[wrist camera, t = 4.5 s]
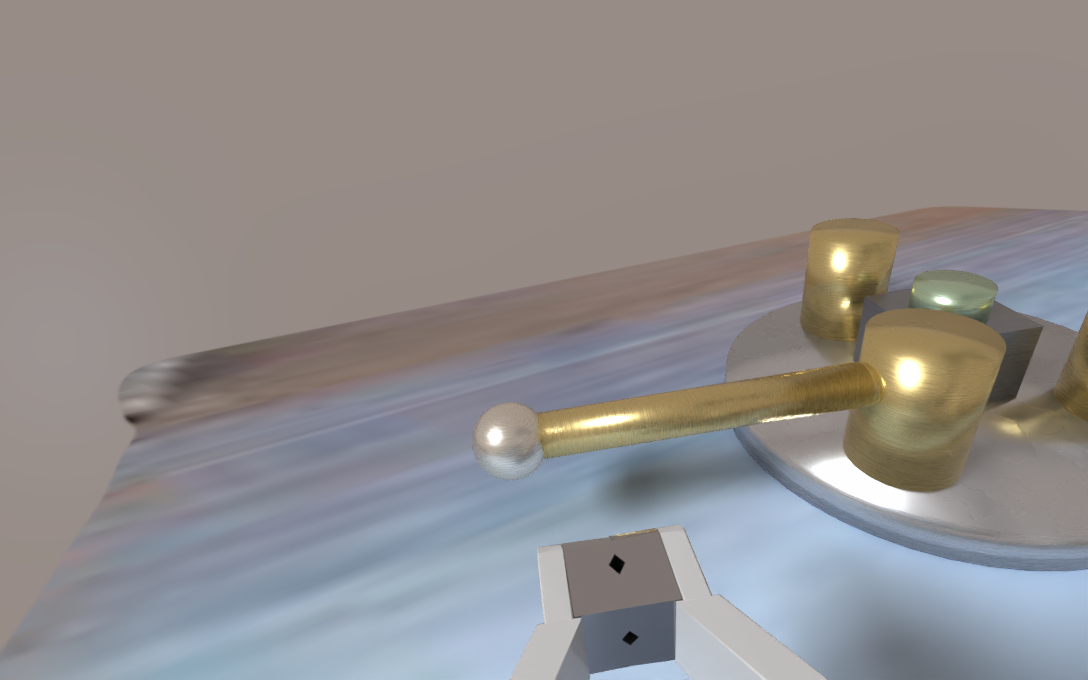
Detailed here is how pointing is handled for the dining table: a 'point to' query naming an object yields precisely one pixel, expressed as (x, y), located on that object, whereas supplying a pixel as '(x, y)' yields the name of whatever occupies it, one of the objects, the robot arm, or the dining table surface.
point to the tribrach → (1003, 434)
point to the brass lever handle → (797, 406)
